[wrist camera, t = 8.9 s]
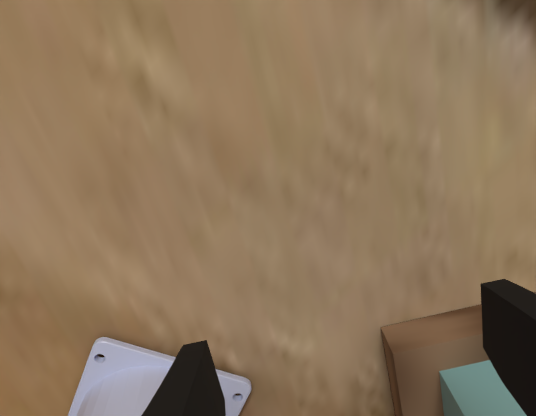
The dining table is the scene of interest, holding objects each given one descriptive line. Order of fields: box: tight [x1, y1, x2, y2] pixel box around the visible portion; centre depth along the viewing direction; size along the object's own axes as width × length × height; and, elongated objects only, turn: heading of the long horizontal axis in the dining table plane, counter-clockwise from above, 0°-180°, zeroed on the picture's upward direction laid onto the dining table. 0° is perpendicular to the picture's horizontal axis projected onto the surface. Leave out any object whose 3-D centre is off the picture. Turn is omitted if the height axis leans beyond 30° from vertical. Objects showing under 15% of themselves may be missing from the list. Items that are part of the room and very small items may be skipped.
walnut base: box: [381, 292, 536, 416], centre depth 25 cm, size 9×9×2 cm
